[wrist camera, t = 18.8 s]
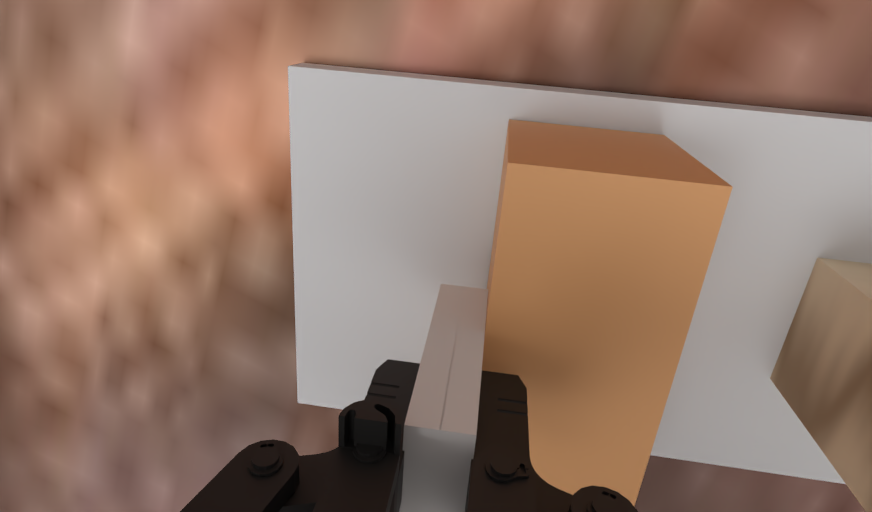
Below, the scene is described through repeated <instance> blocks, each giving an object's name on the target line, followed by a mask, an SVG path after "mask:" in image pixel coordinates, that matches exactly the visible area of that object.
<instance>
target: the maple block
mask: <svg viewBox="0 0 872 512" xmlns="http://www.w3.org/2000/svg"><path fill="white" fill-rule="evenodd" d="M770 379H771V381H772V382H773V383H774V385H775V386H776V388H777V389H778V390H779V392H780V393H781V395H782V396H783V397H784V399H785V400H786V402H787V403H788V404H789V406H790V407H791V408H792V410H793V411H794V413H795V414H796V415H797V417H798V418H799V420H800V421H801V422H802V424H803V425H804V427H805V428H806V429H807V431H808V432H809V433H810V435H811V436H812V438H813V439H814V440H815V442H816V443H817V445H818V446H819V447H820V449H821V450H822V452H823V453H824V454H825V456H826V457H827V459H828V460H829V461H830V463H831V464H832V465H833V467H834V468H835V470H836V471H837V472H838V474H839V475H840V477H841V478H842V479H843V481H844V482H845V484H846V485H847V486H848V488H849V489H850V490H851V492H852V493H853V495H854V496H855V497H856V499H857V500H858V502H859V503H860V504H861V506H862V507H863V509H864V510H865V511H866V512H872V264H869V263H861V262H852V261H843V260H835V259H826V258H817V260H816V262H815V265H814V267H813V270H812V272H811V275H810V277H809V280H808V283H807V285H806V288H805V290H804V293H803V295H802V298H801V300H800V303H799V305H798V308H797V311H796V313H795V316H794V318H793V321H792V323H791V326H790V328H789V331H788V334H787V336H786V339H785V341H784V344H783V346H782V349H781V351H780V354H779V356H778V359H777V362H776V364H775V367H774V369H773V372H772V374H771V377H770Z"/></svg>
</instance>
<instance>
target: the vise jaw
mask: <svg viewBox="0 0 872 512" xmlns="http://www.w3.org/2000/svg"><path fill="white" fill-rule="evenodd" d="M732 188H733V187H732V186H731V185H730V184H728V183H727V182H726V181H724V180H723V179H722V178H720V177H719V176H718V175H716V174H715V173H714V172H713V171H711V170H710V169H709V168H707V167H706V166H705V165H703V164H702V163H701V162H699V161H698V160H697V159H695V158H694V157H693V156H691V155H690V154H689V153H687V152H686V151H685V150H683V149H682V148H681V147H680V146H678V145H677V144H676V143H674V142H673V141H672V140H670V139H669V138H668V137H666V136H665V135H660V134H650V133H640V132H631V131H621V130H611V129H601V128H591V127H581V126H571V125H561V124H551V123H541V122H532V121H522V120H512V119H509V121H508V129H507V137H506V144H505V152H504V160H503V167H502V175H501V183H500V190H499V198H498V206H497V213H496V221H495V229H494V236H493V244H492V252H491V260H490V267H489V275H488V283H487V289H488V299H487V312H486V324H485V336H484V349H483V361H482V370H483V371H490V372H498V373H506V374H513V375H518V376H519V377H520V379H521V380H522V382H523V383H524V385H525V386H526V388H527V406H528V428H529V451H530V460H531V464H532V466H533V468H534V470H535V472H536V473H537V474H538V475H539V476H540V477H541V478H542V479H543V480H544V481H546V482H547V483H548V484H550V485H552V486H554V487H556V488H558V489H560V490H562V491H565V492H567V493H569V494H572V495H573V494H574V493H576V492H577V491H578V490H579V489H581V488H583V487H588V486H601V487H606V488H609V489H611V490H614V491H616V492H618V493H620V494H621V495H622V496H624V497H625V498H627V499H628V500H629V501H630V502H631V503H632V505H633V506H635V503H636V499H637V496H638V493H639V490H640V486H641V483H642V480H643V477H644V473H645V470H646V467H647V464H648V460H649V457H650V454H651V451H652V447H653V444H654V441H655V438H656V434H657V431H658V428H659V425H660V421H661V418H662V415H663V412H664V408H665V405H666V402H667V399H668V395H669V392H670V389H671V386H672V382H673V379H674V376H675V373H676V369H677V366H678V363H679V360H680V356H681V353H682V350H683V347H684V343H685V340H686V337H687V334H688V330H689V327H690V324H691V321H692V317H693V314H694V311H695V308H696V304H697V301H698V298H699V295H700V291H701V288H702V285H703V282H704V279H705V275H706V272H707V269H708V266H709V262H710V259H711V256H712V253H713V249H714V246H715V243H716V240H717V236H718V233H719V230H720V227H721V223H722V220H723V217H724V214H725V210H726V207H727V204H728V201H729V197H730V194H731V191H732Z"/></svg>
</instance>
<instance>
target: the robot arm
mask: <svg viewBox="0 0 872 512" xmlns="http://www.w3.org/2000/svg"><path fill="white" fill-rule="evenodd" d="M487 299H488V289H482V288H473V287H465V286H457V285H448V284H441V286H440V290H439V293H438V297H437V301H436V305H435V309H434V313H433V316H432V320H431V324H430V328H429V332H428V336H427V339H426V343H425V347H424V351H423V355H422V358H421V362H420V363H413V362H405V361H398V360H390V359H387V360H386V361H385V362H384V363H383V364H382V365H380V366H379V367H378V368H377V369H376V371H375V373H374V376H373V378H372V381H371V385H370V386H369V389H368V391H367V395H366V397H365V399H364V400H362V401H358V402H354V403H352V404H350V405H349V406H347V407H345V408H344V409H343V411H342V412H341V413H340V415H339V447H337V448H336V449H334V450H331V451H329V452H326V453H321V454H315V455H305V456H299V454H298V453H297V451H296V450H295V448H294V447H293V446H292V445H290V444H288V443H286V442H284V441H278V440H265V441H259V442H257V443H254V444H251V445H249V446H247V447H246V448H245V449H243V450H242V451H241V452H239V453H238V454H237V455H236V456H235V457H234V458H233V459H232V460H231V461H230V462H229V463H228V464H227V465H226V466H225V467H224V468H223V469H222V470H221V471H220V472H219V473H218V474H217V475H216V476H215V477H214V478H213V479H212V480H211V481H210V482H209V483H208V484H207V485H206V486H205V487H204V488H203V489H202V490H201V491H200V492H199V493H198V494H197V495H196V496H195V497H194V498H193V499H192V500H191V501H190V502H189V503H188V504H187V505H186V506H185V507H184V508H183V509H182V510H181V511H180V512H638V511H637V510H636V509H635V507H634V506H633V505H632V503H631V502H630V501H629V500H628V499H627V498H625V497H624V496H622V495H621V494H620V493H618V492H616V491H614V490H611V489H609V488H606V487H601V486H588V487H583V488H581V489H579V490H578V491H577V492H576V493H574V494H573V495H572V494H569V493H567V492H565V491H562V490H560V489H558V488H556V487H554V486H552V485H550V484H548V483H547V482H546V481H544V480H543V479H542V478H541V477H540V476H539V475H538V474H537V473H536V472H535V470H534V468H533V466H532V464H531V460H530V451H529V428H528V406H527V388H526V386H525V385H524V383H523V382H522V380H521V379H520V377H519V376H518V375H513V374H506V373H498V372H490V371H483V370H482V361H483V349H484V336H485V324H486V312H487Z"/></svg>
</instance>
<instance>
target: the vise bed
mask: <svg viewBox="0 0 872 512" xmlns="http://www.w3.org/2000/svg"><path fill="white" fill-rule="evenodd" d="M288 86H289V120H290V155H291V189H292V223H293V258H294V292H295V327H296V361H297V396H298V403H303V404H309V405H316V406H323V407H329V408H336V409H344V408H345V407H347V406H349V405H350V404H352V403H354V402H358V401H362V400H364V399H365V397H366V395H367V391H368V389H369V386H370V385H371V381H372V378H373V376H374V373H375V371H376V369H377V368H378V367H379V366H380V365H382V364H383V363H384V362H385V361H386V360H387V359H390V360H398V361H405V362H413V363H420V362H421V358H422V355H423V351H424V347H425V343H426V339H427V336H428V332H429V328H430V324H431V320H432V316H433V313H434V309H435V305H436V301H437V297H438V293H439V290H440V286H441V284H448V285H457V286H465V287H473V288H482V289H487V283H488V275H489V267H490V260H491V252H492V244H493V236H494V229H495V221H496V213H497V206H498V198H499V190H500V183H501V175H502V167H503V160H504V152H505V144H506V137H507V129H508V121H509V119H512V120H522V121H532V122H541V123H551V124H561V125H571V126H581V127H591V128H601V129H611V130H621V131H631V132H640V133H650V134H660V135H665V136H666V137H668V138H669V139H670V140H672V141H673V142H674V143H676V144H677V145H678V146H680V147H681V148H682V149H683V150H685V151H686V152H687V153H689V154H690V155H691V156H693V157H694V158H695V159H697V160H698V161H699V162H701V163H702V164H703V165H705V166H706V167H707V168H709V169H710V170H711V171H713V172H714V173H715V174H716V175H718V176H719V177H720V178H722V179H723V180H724V181H726V182H727V183H728V184H730V185H731V186H732V187H733V188H732V191H731V194H730V197H729V201H728V204H727V207H726V210H725V214H724V217H723V220H722V223H721V227H720V230H719V233H718V236H717V240H716V243H715V246H714V249H713V253H712V256H711V259H710V262H709V266H708V269H707V272H706V275H705V279H704V282H703V285H702V288H701V291H700V295H699V298H698V301H697V304H696V308H695V311H694V314H693V317H692V321H691V324H690V327H689V330H688V334H687V337H686V340H685V343H684V347H683V350H682V353H681V356H680V360H679V363H678V366H677V369H676V373H675V376H674V379H673V382H672V386H671V389H670V392H669V395H668V399H667V402H666V405H665V408H664V412H663V415H662V418H661V421H660V425H659V428H658V431H657V434H656V438H655V441H654V444H653V447H652V451H651V454H650V455H653V456H659V457H666V458H673V459H680V460H686V461H693V462H700V463H707V464H713V465H720V466H727V467H733V468H740V469H747V470H754V471H760V472H767V473H774V474H781V475H787V476H794V477H801V478H808V479H814V480H821V481H828V482H835V483H841V484H845V482H844V481H843V479H842V478H841V477H840V475H839V474H838V472H837V471H836V470H835V468H834V467H833V465H832V464H831V463H830V461H829V460H828V459H827V457H826V456H825V454H824V453H823V452H822V450H821V449H820V447H819V446H818V445H817V443H816V442H815V440H814V439H813V438H812V436H811V435H810V433H809V432H808V431H807V429H806V428H805V427H804V425H803V424H802V422H801V421H800V420H799V418H798V417H797V415H796V414H795V413H794V411H793V410H792V408H791V407H790V406H789V404H788V403H787V402H786V400H785V399H784V397H783V396H782V395H781V393H780V392H779V390H778V389H777V388H776V386H775V385H774V383H773V382H772V381H771V379H770V377H771V374H772V372H773V369H774V367H775V364H776V362H777V359H778V356H779V354H780V351H781V349H782V346H783V344H784V341H785V339H786V336H787V334H788V331H789V328H790V326H791V323H792V321H793V318H794V316H795V313H796V311H797V308H798V305H799V303H800V300H801V298H802V295H803V293H804V290H805V288H806V285H807V283H808V280H809V277H810V275H811V272H812V270H813V267H814V265H815V262H816V260H817V258H826V259H835V260H843V261H852V262H861V263H869V264H872V117H867V116H857V115H846V114H836V113H825V112H815V111H804V110H794V109H783V108H773V107H762V106H752V105H741V104H731V103H720V102H710V101H699V100H689V99H679V98H668V97H658V96H647V95H637V94H626V93H616V92H605V91H595V90H584V89H574V88H563V87H553V86H542V85H532V84H521V83H511V82H501V81H490V80H480V79H469V78H459V77H448V76H438V75H427V74H417V73H406V72H396V71H385V70H375V69H364V68H354V67H343V66H333V65H323V64H312V63H299V64H295V65H290V66H288Z"/></svg>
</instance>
